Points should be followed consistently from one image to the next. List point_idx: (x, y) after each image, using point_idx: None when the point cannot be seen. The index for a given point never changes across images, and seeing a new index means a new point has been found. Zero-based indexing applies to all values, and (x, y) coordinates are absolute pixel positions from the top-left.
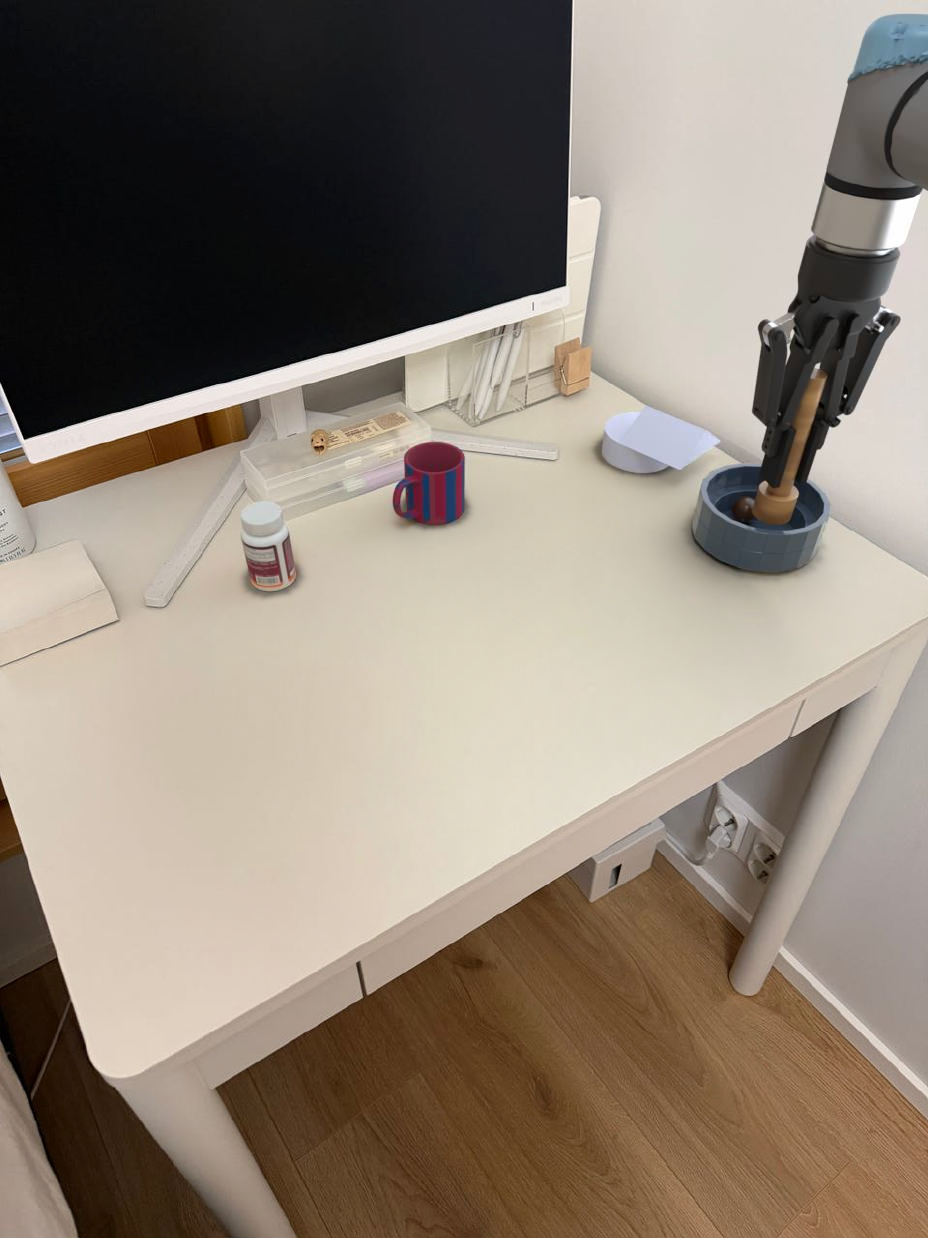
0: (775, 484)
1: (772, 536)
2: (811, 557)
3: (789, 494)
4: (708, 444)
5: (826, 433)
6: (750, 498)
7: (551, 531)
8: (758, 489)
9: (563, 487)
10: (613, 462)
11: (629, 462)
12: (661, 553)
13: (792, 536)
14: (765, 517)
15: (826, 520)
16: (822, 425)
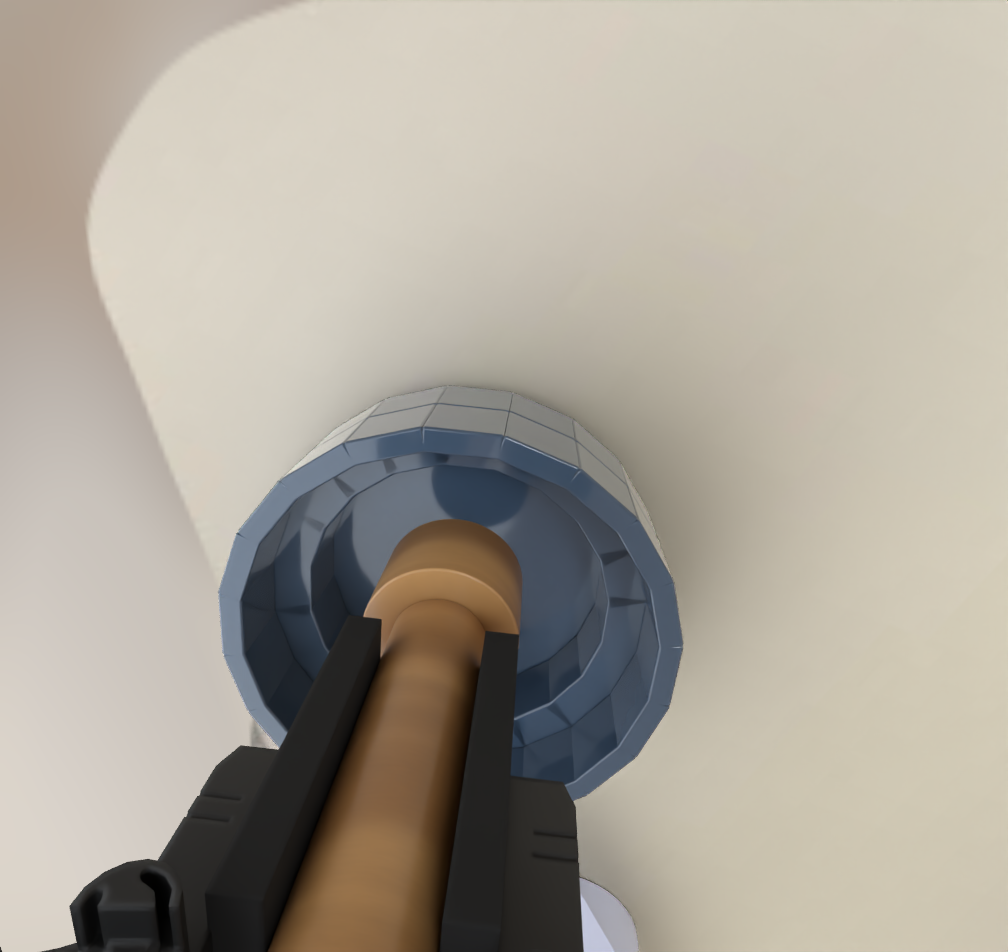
0: (509, 645)
1: (564, 457)
2: (374, 406)
3: (415, 601)
4: None
5: (182, 830)
6: None
7: (974, 775)
8: None
9: (813, 898)
10: (635, 932)
11: (614, 921)
12: (762, 598)
13: (491, 429)
14: (511, 560)
15: (305, 463)
16: (217, 902)
